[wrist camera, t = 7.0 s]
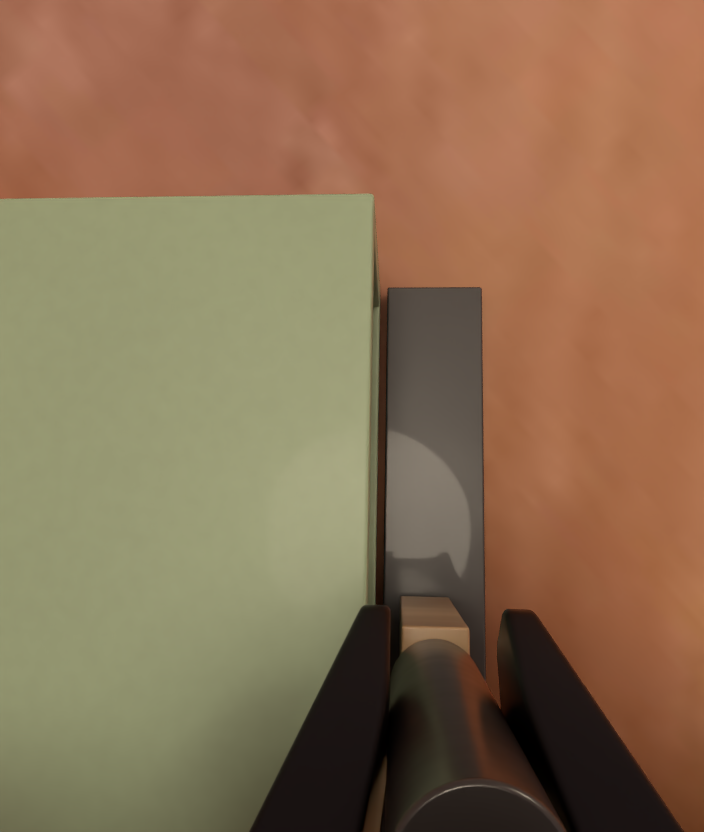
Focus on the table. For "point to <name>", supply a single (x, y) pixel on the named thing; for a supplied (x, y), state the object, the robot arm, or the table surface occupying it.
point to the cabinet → (211, 491)
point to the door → (453, 737)
